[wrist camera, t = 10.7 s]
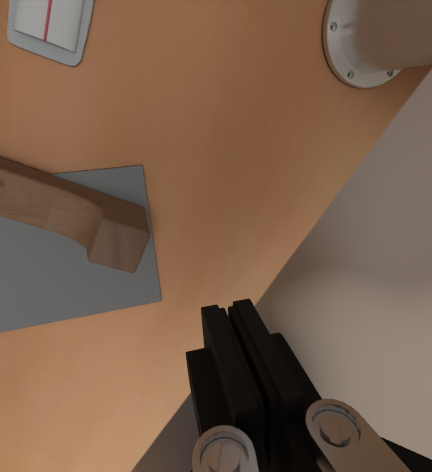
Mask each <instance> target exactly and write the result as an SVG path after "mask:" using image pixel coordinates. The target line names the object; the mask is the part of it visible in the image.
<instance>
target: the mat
mask: <svg viewBox="0 0 432 472" xmlns="http://www.w3.org/2000/svg"><path fill="white" fill-rule="evenodd" d="M50 175H53V176H56V177H59V178H62V179H65V180H67V181H70V182H73V183H76V184H79V185H82V186H85V187H88V188H91V189H94V190H97V191H99V192H102V193H105V194H108V195H111V196H114V197H117V198H120V199H122V200H125V201H128V202H131V203H134V204H137V205H139V206H142V207H144V208H145V211H146V216H147V221H148V226H149V231H150V238H149V240H148V243H147V245H146V248H145V250H144V253H143V255H142V258H141V260H140V263H139V265H138V268H137V270H136V271H135V272H134V273H130V272H126V271H122V270H118V269H114V268H110V267H107V266H103V265H99V264H95V263H91V262H90V261H88V257H87V251H86V248H85V247H83V246H82V245H80V244H79V243H78V242H76V241H75V240H74V239H71V238H69V237H66V236H64V235H61V234H59V233H56V232H53V231H50V230H46V229H42V228H39V227H35V226H32V225H28V224H25V223H21V222H18V221H14V220H11V219H7V218H4V217H0V332H4V331H10V330H15V329H20V328H25V327H30V326H35V325H40V324H46V323H51V322H56V321H61V320H66V319H71V318H77V317H82V316H87V315H92V314H97V313H102V312H108V311H113V310H118V309H123V308H128V307H133V306H139V305H144V304H149V303H154V302H159V301H162V299H161V292H160V285H159V278H158V271H157V265H156V258H155V251H154V244H153V237H152V230H151V223H150V216H149V209H148V202H147V195H146V188H145V181H144V174H143V167H142V165H136V166H126V167H116V168H105V169H95V170H85V171H75V172H64V173H54V174H50Z"/></svg>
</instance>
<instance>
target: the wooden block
mask: <svg viewBox="0 0 432 472" xmlns="http://www.w3.org/2000/svg"><path fill="white" fill-rule="evenodd" d="M0 217H4V218H7V219H11V220H14V221H18V222H21V223H25V224H28V225H32V226H35V227H39V228H42V229H46V230H50V231H53V232H56V233H59V234H61V235H64V236H66V237H69V238H71V239H74V240H75V241H76V242H78V243H79V244H80V245H82V246H83V247H85V248H86V251H87V257H88V261H90V262H91V263H95V264H99V265H103V266H107V267H110V268H114V269H118V270H122V271H126V272H130V273H134V272H135V271H136V270H137V268H138V265H139V263H140V260H141V258H142V255H143V253H144V250H145V248H146V245H147V243H148V240H149V238H150V231H149V226H148V221H147V216H146V211H145V208H144V207H142V206H139V205H137V204H134V203H131V202H128V201H125V200H122V199H120V198H117V197H114V196H111V195H108V194H105V193H102V192H99V191H97V190H94V189H91V188H88V187H85V186H82V185H79V184H76V183H73V182H70V181H67V180H65V179H62V178H59V177H56V176H53V175H50V174H47V173H44V172H42V171H39V170H36V169H33V168H30V167H27V166H24V165H21V164H18V163H16V162H13V161H10V160H7V159H4V158H1V157H0Z"/></svg>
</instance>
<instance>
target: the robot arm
mask: <svg viewBox="0 0 432 472" xmlns="http://www.w3.org/2000/svg"><path fill="white" fill-rule="evenodd" d="M330 28H331V29H330ZM323 46H324V51H325V56H326V58H327V61H328V64H329V66H330V68H331V69H332V71H333V72H334V74H335V75H336V76H337V77H338V78H339V79H340V80H341V81H342V82H344V83H346V84H347V85H349V86H352V87H355V88H371V87H376V86H379V85H382V84H384V83H386V82H388V81H389V80H391V79H392V78H393V77H395V76H396V75H397V74H398V73H399V72H400V71H401V70H402V69H405V68H411V67H418V66H425V65H432V0H329V3H328V5H327V8H326V12H325V16H324V22H323ZM201 314H202V325H203V337H204V348H203V349H198V350H193V351H188V352H186V360H187V368H188V375H189V382H190V388H191V394H192V400H193V404H194V411H195V416H196V421H197V427H198V432H199V439H198V441H197V443H196V445H195V447H194V452H193V469H192V471H191V472H432V460H431V459H429V458H427V457H424V456H422V455H420V454H418V453H415V452H413V451H411V450H409V449H407V448H404V447H402V446H399V445H398V444H395V443H393V442H391V441H389V440H386V439H384V438H382V437H380V436H378V434H377V433H376V432H375V431H374V430H373V428H372V427H371V426H370V425H369V424H368V423H367V422H366V421H365V419H364V418H363V417H362V416H361V415H360V414H359V413H358V412H357V411H356V410H355V409H354V408H352V407H351V406H349V405H347V404H346V403H344V402H342V401H338V400H335V399H322V398H321V397H320V395H319V394H318V392H317V390H316V389H315V387H314V385H313V384H312V382H311V381H310V379H309V377H308V376H307V374H306V373H305V371H304V369H303V368H302V366H301V365H300V363H299V361H298V360H297V358H296V356H295V355H294V353H293V351H292V350H291V348H290V347H289V345H288V343H287V342H286V340H285V339H284V337H283V336H282V334H280V333H275V334H269V332H268V330H267V328H266V327H265V325H264V323H263V321H262V320H261V318H260V316H259V314H258V312H257V311H256V309H255V307H254V305H253V304H252V302H251V300H250V299H244V300H239V301H234V302H233V306H230V307H228V315H227V313H226V311H225V308H219V307H218V305H212V306H206V307H201Z"/></svg>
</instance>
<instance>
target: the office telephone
mask: <svg viewBox="0 0 432 472" xmlns="http://www.w3.org/2000/svg"><path fill="white" fill-rule="evenodd" d="M93 5H94V0H10V3H9V14H8V25H7V39H8V41H9V42H10V43H12V44H13V45H15V46H17V47H20V48H22V49H25V50H27V51H30V52H32V53H35V54H38V55H40V56H43V57H46V58H49V59H51V60H54V61H57V62H59V63H62V64H65V65H68V66H72V67H75V66H77V65H78V64H79V63H80V62H81V60H82V56H83V52H84V48H85V44H86V40H87V36H88V32H89V27H90V22H91V18H92V12H93Z"/></svg>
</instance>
